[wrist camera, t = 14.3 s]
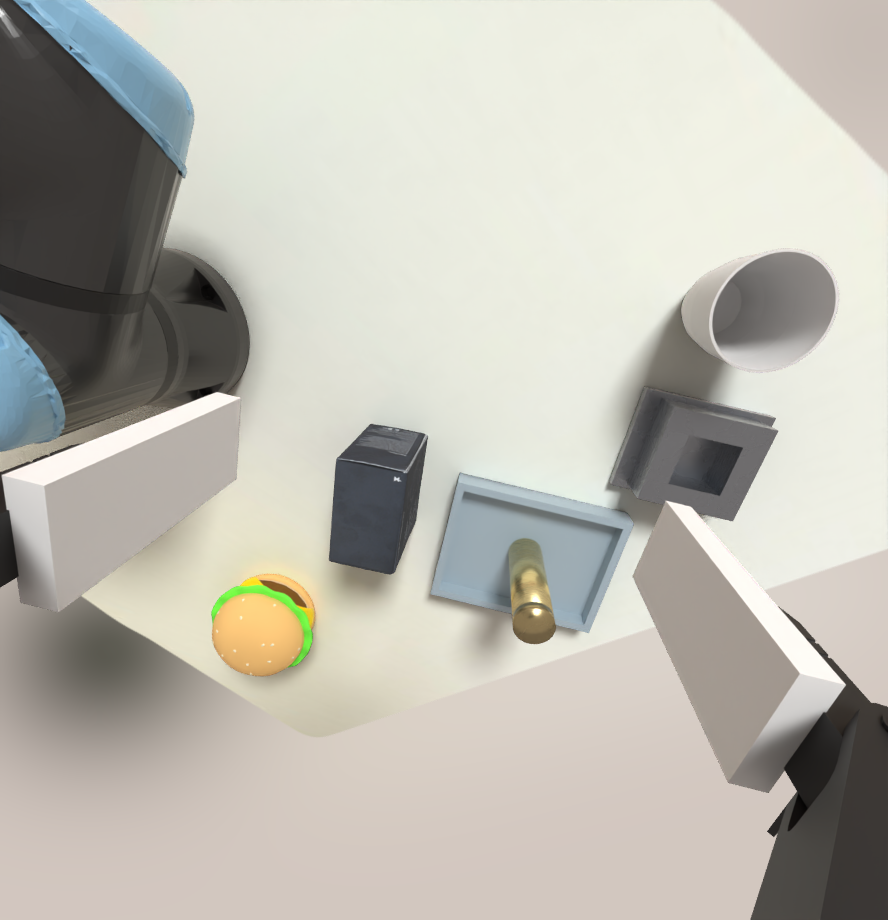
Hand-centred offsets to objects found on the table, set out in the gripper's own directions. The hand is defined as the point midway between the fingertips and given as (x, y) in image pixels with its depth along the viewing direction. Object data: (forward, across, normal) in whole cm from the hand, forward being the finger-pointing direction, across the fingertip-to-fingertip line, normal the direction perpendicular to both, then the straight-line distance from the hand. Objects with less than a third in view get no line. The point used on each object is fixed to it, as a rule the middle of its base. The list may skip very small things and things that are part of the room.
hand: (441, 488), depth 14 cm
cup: (+33, +19, +8) cm, 39 cm away
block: (+33, +22, -5) cm, 40 cm away
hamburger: (+33, -17, -36) cm, 52 cm away
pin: (+32, +10, -20) cm, 39 cm away
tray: (+33, +10, -20) cm, 40 cm away
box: (+33, -6, -15) cm, 37 cm away
